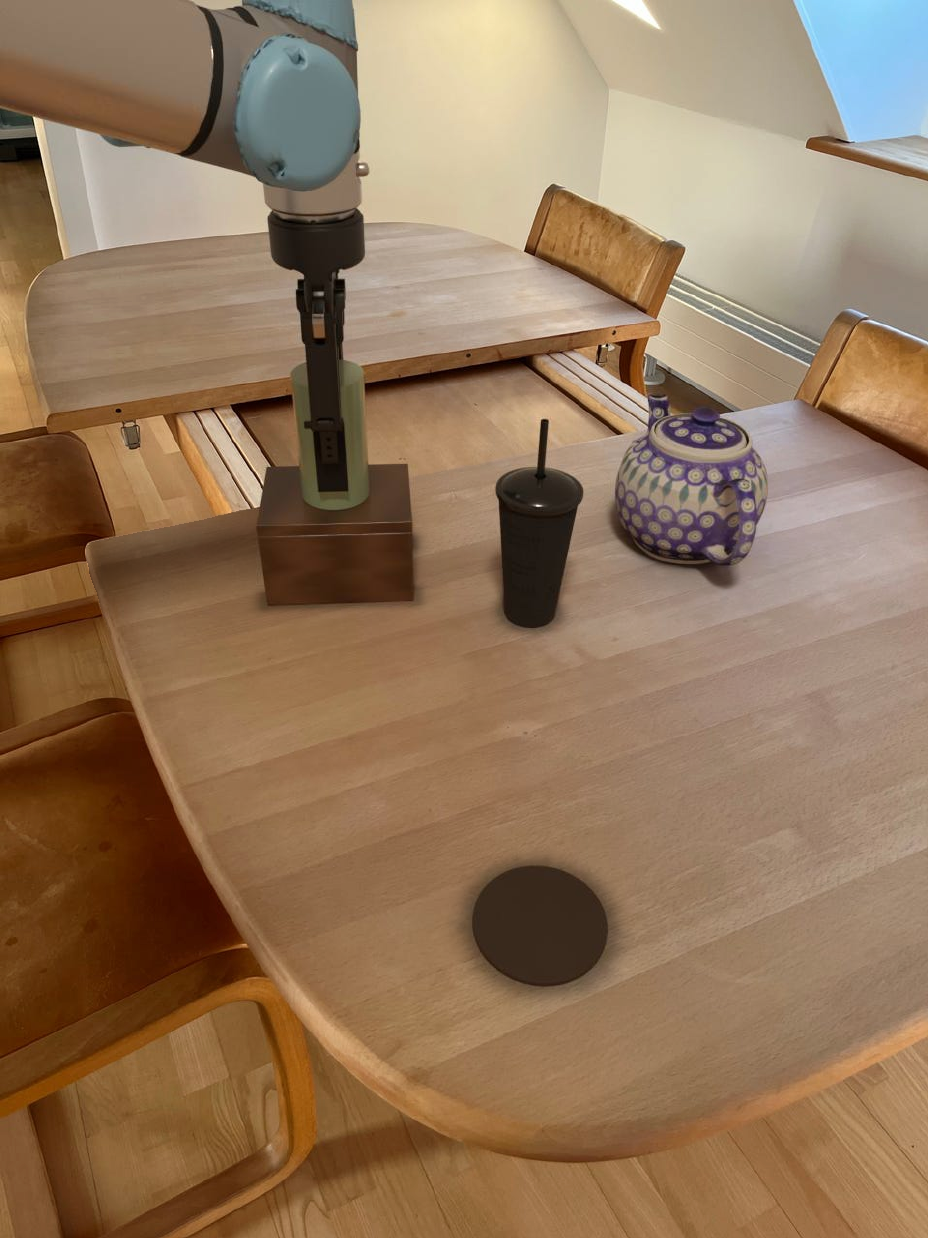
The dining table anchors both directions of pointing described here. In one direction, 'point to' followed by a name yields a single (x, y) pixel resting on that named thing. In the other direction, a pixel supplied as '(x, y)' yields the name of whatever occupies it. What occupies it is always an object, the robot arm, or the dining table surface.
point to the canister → (354, 438)
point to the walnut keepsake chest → (336, 542)
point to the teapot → (691, 487)
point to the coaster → (540, 925)
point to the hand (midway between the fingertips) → (334, 469)
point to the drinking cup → (535, 536)
